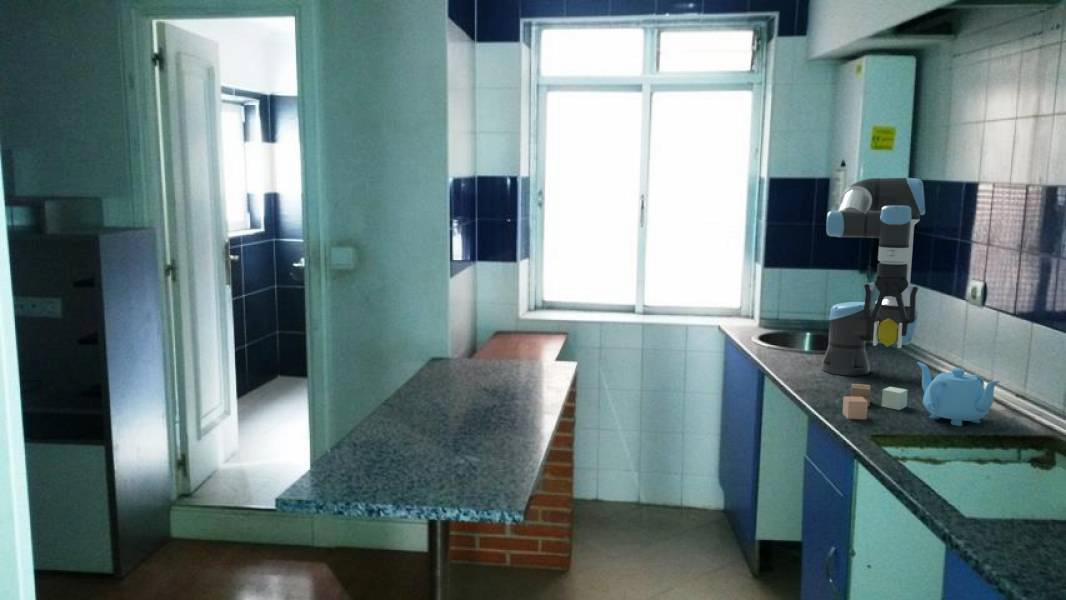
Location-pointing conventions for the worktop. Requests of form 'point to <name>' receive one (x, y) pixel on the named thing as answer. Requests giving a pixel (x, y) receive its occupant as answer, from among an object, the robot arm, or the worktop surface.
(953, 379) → the teapot
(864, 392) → the walnut cube
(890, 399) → the sage cube
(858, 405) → the terracotta cube
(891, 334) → the lemon
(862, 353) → the robot arm
